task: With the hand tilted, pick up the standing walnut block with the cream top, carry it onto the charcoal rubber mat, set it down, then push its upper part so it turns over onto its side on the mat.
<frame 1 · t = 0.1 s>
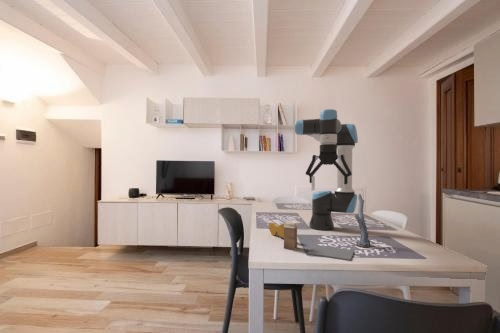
hand: (328, 191, 126), 28 cm above the table, tool pointing down, fingers open, 13 cm apart
walnut block: (290, 247, 133), on the table
decorative fish: (280, 238, 150), on the table
charcoal rubber mat: (331, 252, 126), on the table
antler: (361, 244, 140), on the table
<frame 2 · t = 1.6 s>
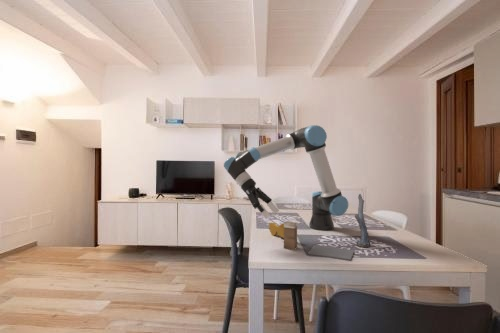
hand: (272, 214, 137), 15 cm above the table, tool tilted 45°, fingers open, 13 cm apart
nothing on the table moved.
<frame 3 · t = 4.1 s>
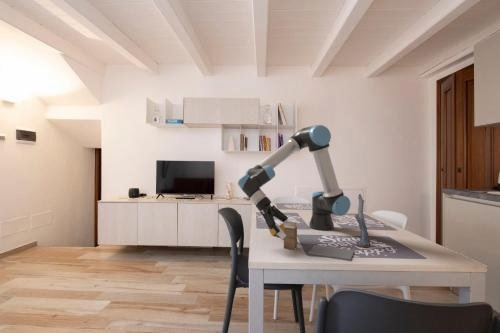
hand: (289, 234, 133), 6 cm above the table, tool tilted 45°, fingers open, 13 cm apart
decorative fish: (280, 238, 150), on the table, touching gripper
everything else where it was.
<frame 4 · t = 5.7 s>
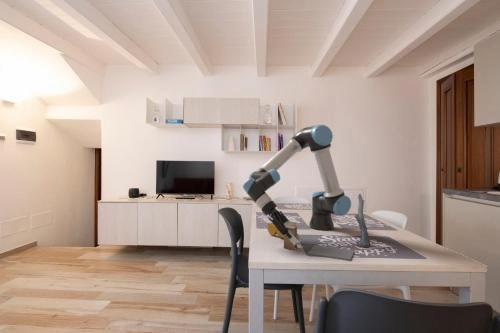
hand: (298, 241, 132), 3 cm above the table, tool tilted 45°, fingers closed on walnut block, 5 cm apart
walnut block: (290, 247, 133), on the table, touching gripper
decorative fish: (280, 238, 150), on the table
everything else where it was.
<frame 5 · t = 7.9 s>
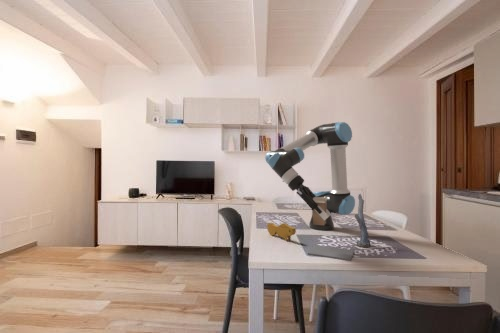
hand: (327, 217, 125), 16 cm above the table, tool tilted 45°, fingers closed on walnut block, 5 cm apart
walnut block: (319, 223, 127), point 13 cm above the table, touching gripper
everything else where it was.
when the fingers open (5 cm above the table, at t = 10.3 s): walnut block stays where it is, resting on charcoal rubber mat.
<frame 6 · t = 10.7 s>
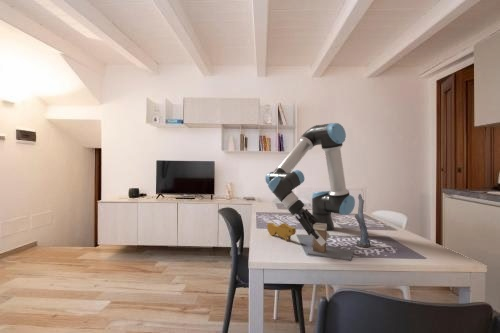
hand: (326, 240, 126), 5 cm above the table, tool tilted 45°, fingers open, 10 cm apart
walnut block: (319, 250, 127), point 1 cm above the table, touching charcoal rubber mat
everything else where it was.
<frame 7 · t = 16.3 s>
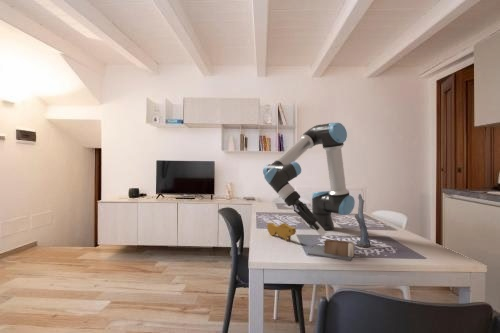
hand: (324, 234, 125), 8 cm above the table, tool tilted 45°, fingers closed
walnut block: (325, 245, 126), point 3 cm above the table, tilted 90°, touching charcoal rubber mat
everything else where it was.
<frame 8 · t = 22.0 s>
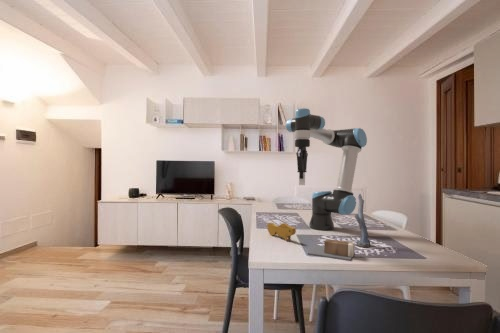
hand: (302, 185, 143), 29 cm above the table, tool pointing down, fingers closed
nothing on the table moved.
at the end: walnut block tilted 90°; walnut block inside the target area (3.5 cm from its centre), point 3.1 cm above the table; the gripper is holding nothing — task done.
